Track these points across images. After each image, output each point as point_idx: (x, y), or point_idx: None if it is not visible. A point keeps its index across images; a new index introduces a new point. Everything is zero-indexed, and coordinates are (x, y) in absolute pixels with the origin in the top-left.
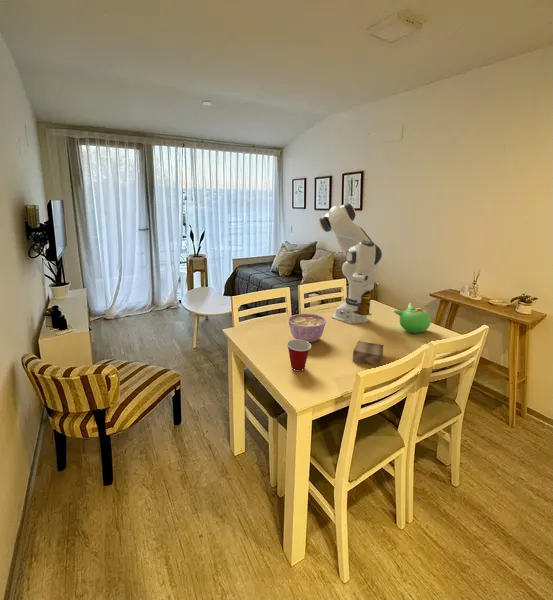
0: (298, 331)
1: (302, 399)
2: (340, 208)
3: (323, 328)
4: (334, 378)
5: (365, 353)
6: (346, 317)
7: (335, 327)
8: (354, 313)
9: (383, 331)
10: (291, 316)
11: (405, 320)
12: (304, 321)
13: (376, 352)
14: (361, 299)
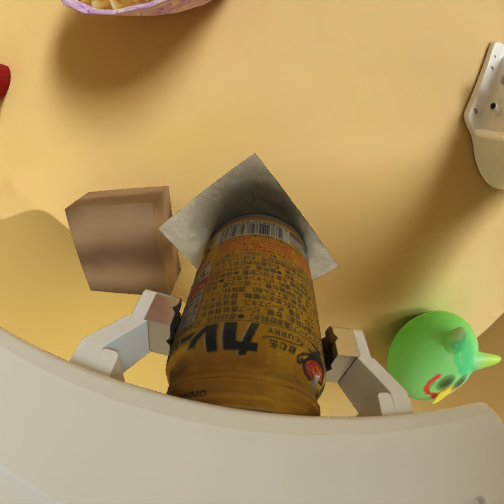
0: None
1: None
2: None
3: (155, 11)
4: (6, 182)
5: (77, 247)
6: (495, 101)
7: (404, 46)
8: (209, 197)
9: (414, 251)
10: None
11: (411, 349)
12: None
13: (99, 279)
14: (156, 352)
